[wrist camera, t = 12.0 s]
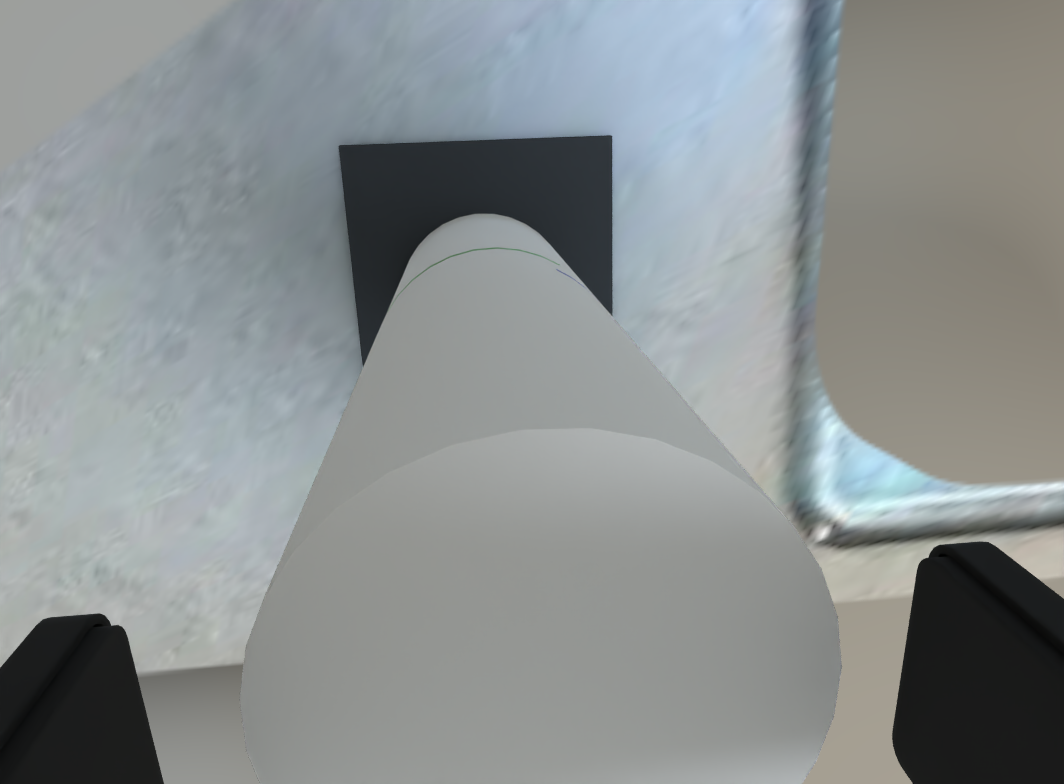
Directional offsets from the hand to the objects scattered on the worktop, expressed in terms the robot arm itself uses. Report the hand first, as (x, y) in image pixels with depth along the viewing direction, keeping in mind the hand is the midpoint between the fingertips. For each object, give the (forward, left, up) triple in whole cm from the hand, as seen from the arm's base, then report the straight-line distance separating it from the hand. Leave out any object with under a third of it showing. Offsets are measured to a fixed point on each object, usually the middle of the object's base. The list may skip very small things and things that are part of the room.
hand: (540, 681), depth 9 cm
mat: (0, 0, -25) cm, 25 cm away
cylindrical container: (0, 0, -25) cm, 25 cm away
